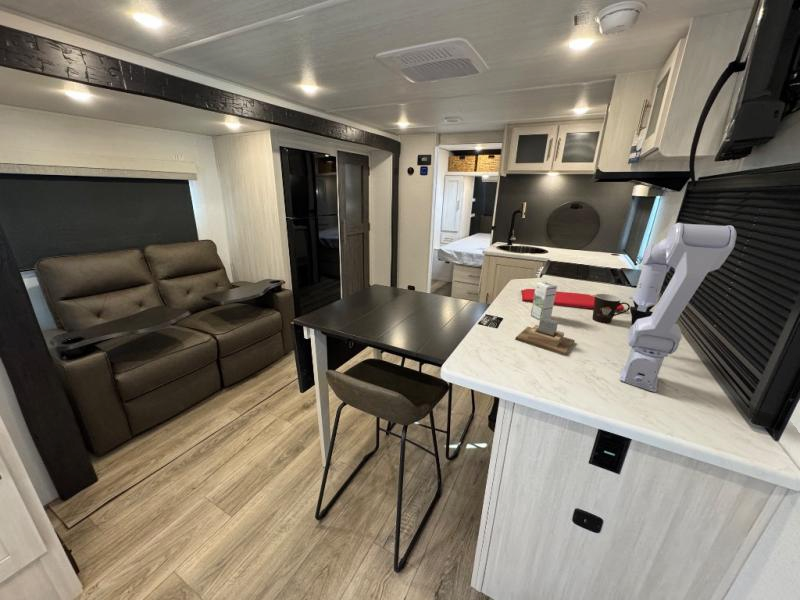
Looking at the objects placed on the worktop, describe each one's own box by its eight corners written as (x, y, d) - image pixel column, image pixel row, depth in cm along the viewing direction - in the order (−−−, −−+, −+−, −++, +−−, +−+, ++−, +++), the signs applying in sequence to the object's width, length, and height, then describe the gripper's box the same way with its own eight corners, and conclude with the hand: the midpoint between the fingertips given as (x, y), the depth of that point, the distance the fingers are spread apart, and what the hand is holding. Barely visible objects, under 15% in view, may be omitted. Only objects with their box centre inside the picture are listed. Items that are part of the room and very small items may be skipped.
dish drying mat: (520, 292, 158) (521, 285, 156) (611, 302, 146) (613, 295, 145) (521, 302, 144) (523, 295, 142) (623, 314, 132) (625, 306, 131)
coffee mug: (585, 319, 125) (591, 296, 122) (593, 314, 130) (599, 292, 127) (618, 329, 117) (625, 304, 113) (625, 323, 122) (632, 300, 118)
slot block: (564, 355, 97) (567, 346, 96) (515, 339, 107) (516, 330, 106) (574, 342, 106) (576, 333, 105) (527, 328, 116) (528, 320, 114)
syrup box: (551, 319, 125) (558, 285, 120) (540, 321, 123) (546, 286, 118) (540, 313, 130) (546, 281, 125) (529, 315, 128) (535, 282, 123)
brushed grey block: (551, 342, 103) (555, 323, 101) (536, 338, 106) (540, 319, 104) (554, 339, 106) (558, 321, 103) (539, 335, 109) (542, 317, 106)
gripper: (635, 277, 100) (624, 316, 105) (630, 287, 90) (618, 329, 94) (663, 282, 96) (650, 321, 100) (661, 293, 85) (646, 336, 90)
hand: (636, 326), depth 97 cm, fingers open, 7 cm apart
